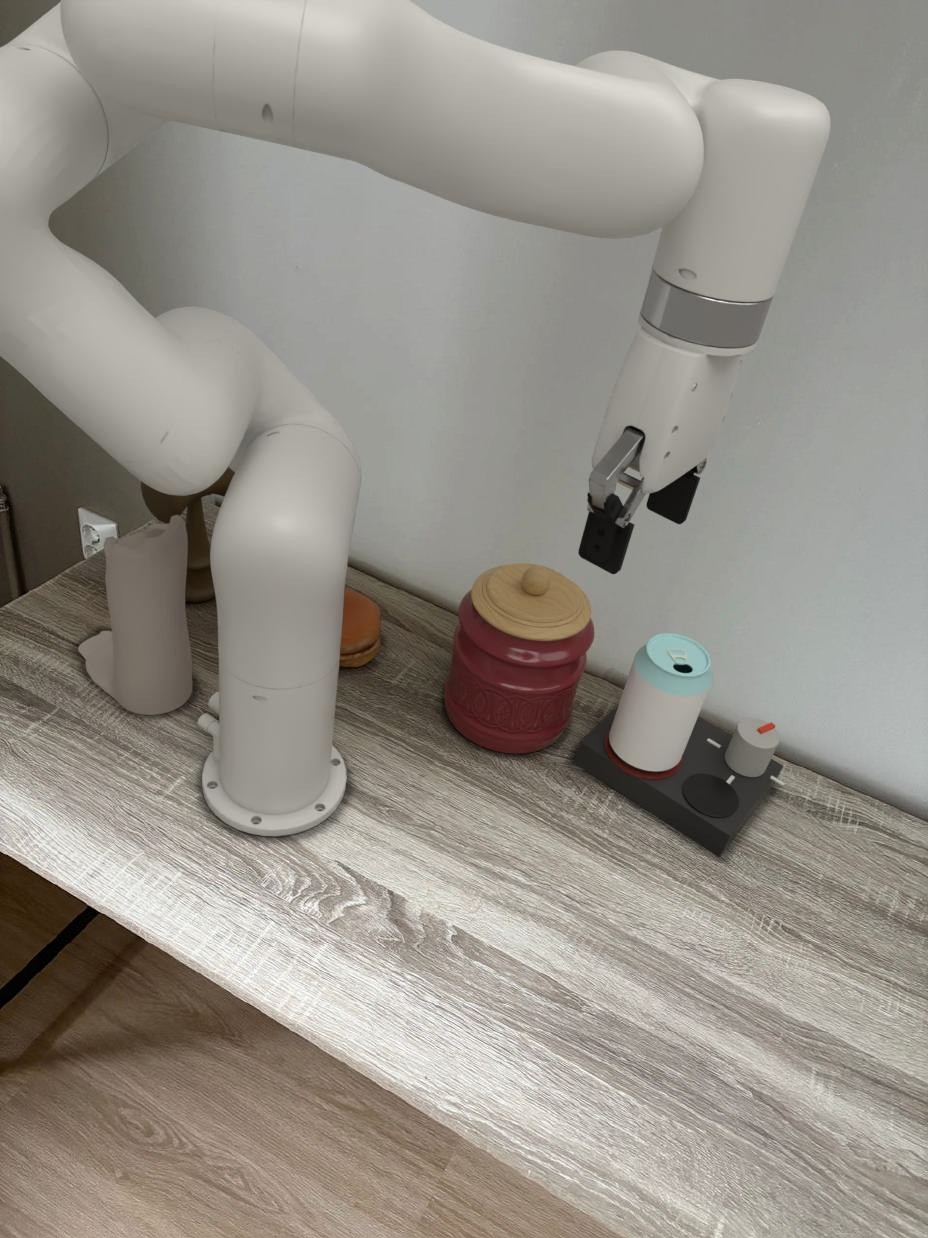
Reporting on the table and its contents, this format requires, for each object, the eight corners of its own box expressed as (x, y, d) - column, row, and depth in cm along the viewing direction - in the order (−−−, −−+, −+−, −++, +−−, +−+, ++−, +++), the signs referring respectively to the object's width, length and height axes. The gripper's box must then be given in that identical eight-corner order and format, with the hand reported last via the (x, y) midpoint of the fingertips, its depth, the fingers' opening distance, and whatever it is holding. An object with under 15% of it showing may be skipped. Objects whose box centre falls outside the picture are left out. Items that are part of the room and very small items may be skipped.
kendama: (250, 587, 109) (252, 426, 97) (177, 622, 103) (170, 453, 90) (215, 563, 112) (213, 402, 99) (142, 594, 105) (131, 427, 93)
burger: (390, 666, 102) (395, 631, 99) (301, 676, 99) (303, 641, 96) (367, 608, 109) (370, 574, 106) (283, 616, 106) (284, 581, 103)
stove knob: (745, 783, 92) (760, 751, 89) (715, 754, 94) (729, 722, 91) (774, 769, 94) (789, 737, 91) (744, 742, 96) (758, 710, 94)
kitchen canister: (594, 731, 99) (638, 592, 88) (490, 774, 92) (525, 629, 81) (518, 654, 106) (550, 518, 96) (417, 689, 100) (440, 546, 89)
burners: (588, 749, 92) (589, 747, 92) (650, 690, 100) (650, 688, 100) (719, 832, 86) (720, 830, 86) (773, 762, 95) (774, 760, 94)
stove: (573, 762, 95) (580, 739, 93) (642, 697, 104) (649, 674, 102) (730, 864, 88) (742, 841, 86) (789, 784, 97) (801, 762, 95)
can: (694, 754, 93) (733, 659, 86) (651, 788, 89) (688, 691, 82) (637, 712, 97) (670, 618, 90) (592, 743, 93) (623, 646, 85)
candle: (120, 622, 101) (105, 451, 89) (208, 691, 95) (204, 518, 83) (57, 652, 96) (32, 476, 84) (145, 726, 90) (131, 548, 78)
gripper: (711, 265, 68) (646, 479, 78) (579, 316, 56) (523, 560, 67) (811, 302, 65) (730, 519, 75) (693, 364, 53) (616, 612, 64)
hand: (633, 538), depth 71 cm, fingers open, 9 cm apart
